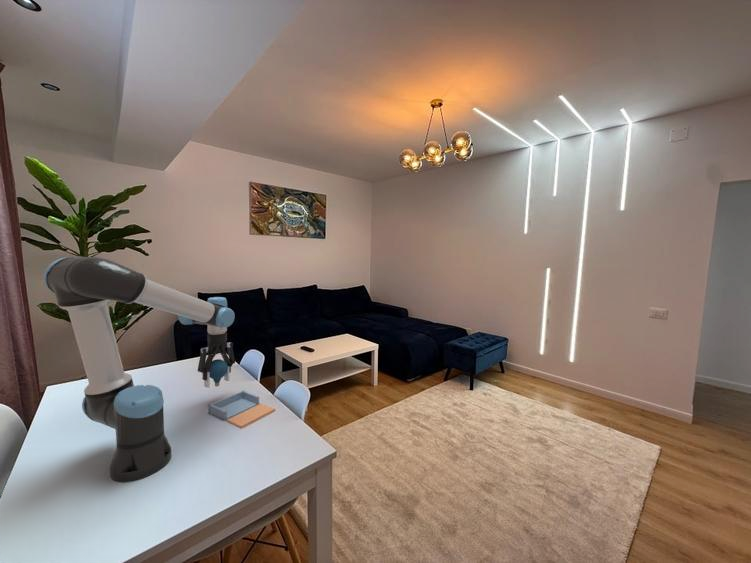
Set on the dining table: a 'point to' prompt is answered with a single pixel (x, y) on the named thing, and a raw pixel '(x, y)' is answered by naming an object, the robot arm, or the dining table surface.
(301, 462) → the dining table surface
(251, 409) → the panel
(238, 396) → the blue-grey shallow rectangular box
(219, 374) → the light bulb
